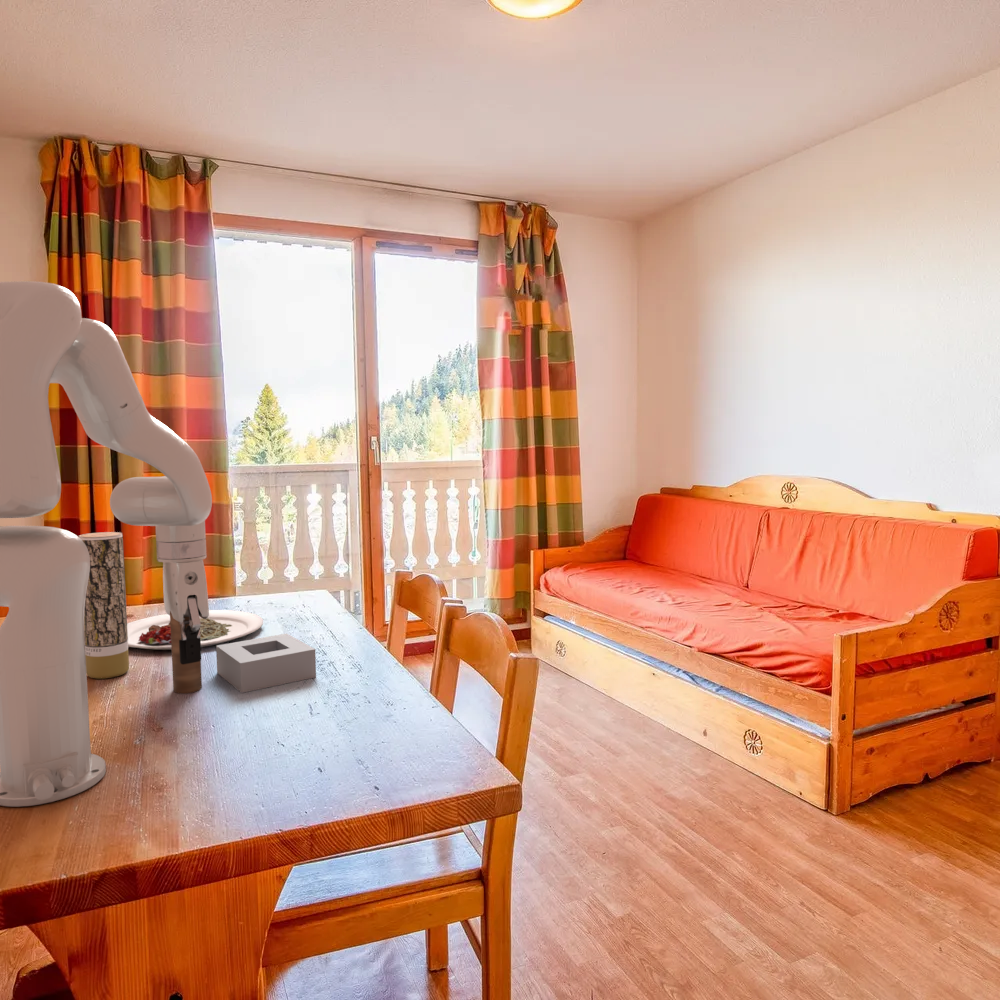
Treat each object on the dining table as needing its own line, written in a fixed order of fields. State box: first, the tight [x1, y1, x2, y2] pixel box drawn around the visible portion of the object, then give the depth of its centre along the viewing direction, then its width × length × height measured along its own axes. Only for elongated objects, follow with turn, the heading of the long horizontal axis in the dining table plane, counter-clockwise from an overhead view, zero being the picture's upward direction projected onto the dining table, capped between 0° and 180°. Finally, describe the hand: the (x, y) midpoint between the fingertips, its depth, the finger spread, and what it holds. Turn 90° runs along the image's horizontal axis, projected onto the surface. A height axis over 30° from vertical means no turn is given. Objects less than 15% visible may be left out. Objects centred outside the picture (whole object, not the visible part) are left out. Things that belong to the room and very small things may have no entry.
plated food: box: [127, 609, 264, 651], centre depth 160 cm, size 30×30×3 cm
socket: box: [215, 633, 317, 694], centre depth 133 cm, size 13×13×5 cm
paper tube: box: [78, 531, 130, 680], centre depth 133 cm, size 7×7×25 cm
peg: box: [170, 611, 203, 695], centre depth 125 cm, size 4×4×14 cm
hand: (186, 657), depth 125 cm, fingers closed on peg, 4 cm apart
